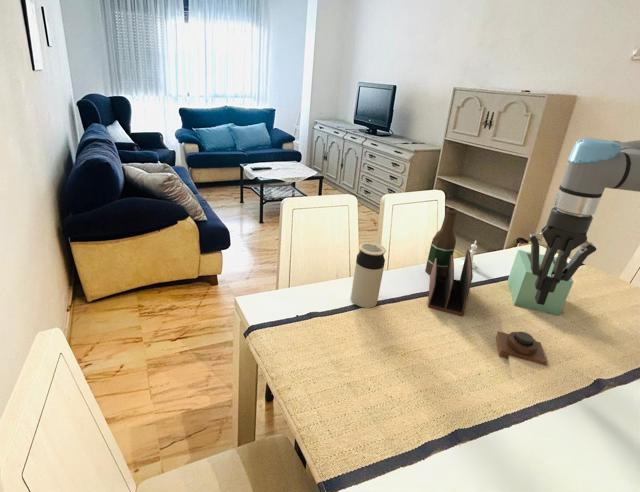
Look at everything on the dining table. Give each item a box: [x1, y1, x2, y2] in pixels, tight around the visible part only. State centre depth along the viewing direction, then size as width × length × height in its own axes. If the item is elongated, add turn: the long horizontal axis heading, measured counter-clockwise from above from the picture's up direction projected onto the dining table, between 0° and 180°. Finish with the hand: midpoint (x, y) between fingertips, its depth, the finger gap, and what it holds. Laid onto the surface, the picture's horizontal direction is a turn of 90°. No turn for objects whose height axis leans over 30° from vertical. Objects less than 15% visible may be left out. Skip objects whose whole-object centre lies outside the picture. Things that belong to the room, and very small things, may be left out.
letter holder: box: [427, 249, 474, 317], centre depth 119 cm, size 10×20×14 cm, turn 158°
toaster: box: [507, 249, 574, 317], centre depth 121 cm, size 12×16×12 cm
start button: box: [515, 331, 534, 346], centre depth 97 cm, size 4×4×2 cm
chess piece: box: [461, 240, 478, 269], centre depth 139 cm, size 5×5×10 cm
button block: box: [495, 330, 548, 366], centre depth 98 cm, size 10×8×4 cm
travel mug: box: [350, 242, 387, 309], centre depth 113 cm, size 8×8×18 cm
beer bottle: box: [425, 207, 458, 277], centre depth 130 cm, size 8×8×24 cm
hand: (539, 301), depth 93 cm, fingers closed
